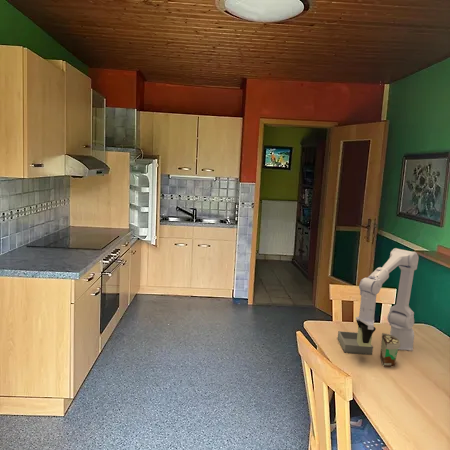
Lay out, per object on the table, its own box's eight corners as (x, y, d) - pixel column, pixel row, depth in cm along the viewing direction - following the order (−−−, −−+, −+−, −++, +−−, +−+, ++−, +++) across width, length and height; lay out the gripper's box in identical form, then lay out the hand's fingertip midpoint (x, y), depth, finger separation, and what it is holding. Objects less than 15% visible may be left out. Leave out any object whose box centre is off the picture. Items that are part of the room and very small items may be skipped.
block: (367, 342, 176) (369, 328, 175) (370, 346, 172) (372, 332, 171) (356, 341, 176) (358, 327, 176) (359, 346, 172) (360, 331, 171)
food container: (400, 370, 167) (403, 346, 166) (384, 368, 168) (386, 344, 167) (394, 357, 179) (397, 334, 178) (379, 355, 180) (382, 332, 179)
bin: (362, 340, 196) (363, 333, 195) (372, 354, 180) (373, 347, 180) (337, 338, 196) (338, 331, 196) (344, 352, 181) (345, 344, 180)
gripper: (353, 301, 179) (349, 332, 181) (362, 313, 165) (358, 346, 167) (370, 302, 179) (366, 334, 181) (380, 314, 165) (376, 348, 166)
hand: (364, 340), depth 174 cm, fingers closed on block, 4 cm apart
